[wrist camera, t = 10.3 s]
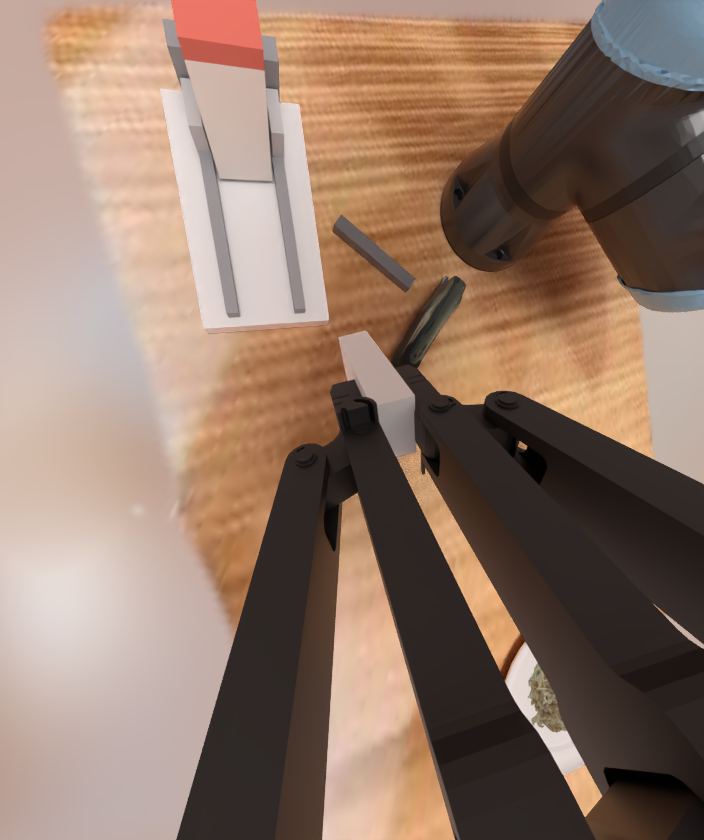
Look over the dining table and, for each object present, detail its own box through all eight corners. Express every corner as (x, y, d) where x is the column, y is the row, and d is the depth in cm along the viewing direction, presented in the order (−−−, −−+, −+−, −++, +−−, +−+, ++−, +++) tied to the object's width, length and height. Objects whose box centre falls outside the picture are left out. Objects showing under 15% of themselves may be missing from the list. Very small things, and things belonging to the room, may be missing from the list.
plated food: (481, 778, 44) (497, 808, 41) (505, 601, 43) (522, 617, 40) (614, 745, 51) (636, 768, 48) (636, 592, 51) (660, 605, 47)
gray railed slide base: (327, 324, 34) (338, 301, 26) (208, 333, 31) (182, 309, 23) (298, 122, 32) (301, 32, 24) (168, 109, 29) (125, 1, 21)
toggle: (272, 181, 30) (263, 49, 19) (219, 178, 28) (177, 36, 17) (264, 128, 29) (250, -38, 18) (210, 123, 28) (161, -58, 17)
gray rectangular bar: (410, 284, 37) (415, 278, 35) (404, 293, 37) (409, 288, 35) (338, 223, 34) (341, 214, 33) (332, 232, 34) (334, 224, 33)
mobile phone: (419, 374, 33) (479, 271, 33) (400, 360, 32) (462, 255, 33) (402, 377, 37) (455, 287, 38) (385, 365, 37) (439, 274, 37)
